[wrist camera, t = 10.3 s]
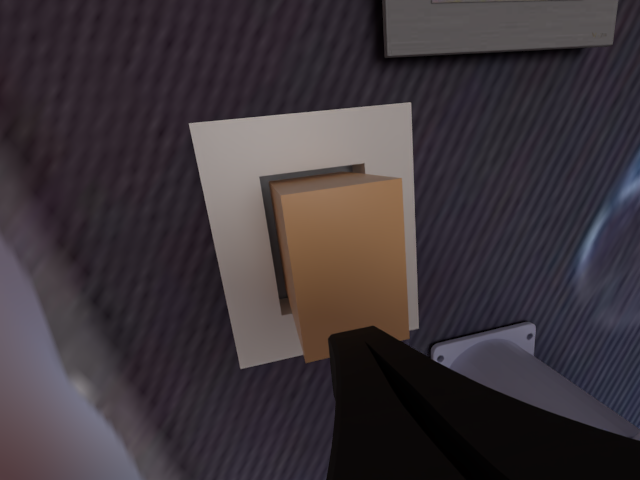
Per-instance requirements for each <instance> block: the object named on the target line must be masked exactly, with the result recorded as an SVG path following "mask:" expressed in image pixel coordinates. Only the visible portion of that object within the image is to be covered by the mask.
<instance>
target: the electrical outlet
mask: <svg viewBox="0 0 640 480" xmlns="http://www.w3.org/2000/svg"><path fill="white" fill-rule="evenodd" d="M617 5H618V0H382V6H383V30H384V54H385V58H395V57H414V56H434V55H453V54H473V53H492V52H511V51H531V50H550V49H570V48H589V47H607V46H610V45H612V44H613V37H614V29H615V21H616V13H617Z"/></svg>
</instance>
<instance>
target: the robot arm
mask: <svg viewBox="0 0 640 480" xmlns="http://www.w3.org/2000/svg"><path fill="white" fill-rule="evenodd" d="M535 331H536V327H535V325H534V324H532V323H531V322H523V323H519V324H515V325H511V326H507V327H503V328H498V329H494V330H490V331H486V332H482V333H478V334H473V335H469V336H465V337H461V338H457V339H453V340H448V341H444V342H440V343H437V344H435V345H433V346H432V348H431V358H429V357H427V356H425V355H424V354H422V353H420V352H418V351H416V350H415V349H413V348H411V347H410V346H408V345H406V344H404V343H403V342H401V341H399V340H398V339H396V338H394V337H393V336H391V335H389V334H388V333H386V332H384V331H382V330H381V329H379V328H377V327H375V326H369V327H364V328H359V329H354V330H349V331H344V332H340V333H335V334H331V335H330V337H329V338H328V346H329V355H330V364H331V374H332V383H333V393H334V397H335V401H336V406H335V422H334V432H333V440H332V448H331V455H330V462H329V467H328V473H327V479H326V480H640V429H638V428H637V427H636V426H634V425H633V424H631V423H630V422H628V421H627V420H625V419H624V418H623V417H621V416H620V415H618V414H617V413H615V412H614V411H612V410H611V409H610V408H608V407H607V406H605V405H604V404H602V403H601V402H599V401H598V400H597V399H595V398H594V397H592V396H591V395H589V394H588V393H586V392H585V391H584V390H582V389H581V388H579V387H578V386H576V385H575V384H573V383H572V382H570V381H569V380H568V379H566V378H565V377H563V376H562V375H560V374H559V373H557V372H556V371H555V370H553V369H552V368H550V367H549V366H547V365H546V364H544V363H543V362H542V361H540V360H539V359H537V358H536V357H534V344H535ZM440 355H441V356H440ZM439 356H440V357H439ZM438 357H439V358H438ZM437 358H438V359H437Z"/></svg>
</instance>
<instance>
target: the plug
mask: <svg viewBox="0 0 640 480" xmlns="http://www.w3.org/2000/svg"><path fill="white" fill-rule="evenodd" d="M269 188H270V194H271V200H272V206H273V213H274V219H275V225H276V232H277V238H278V244H279V251H280V257H281V263H282V270H283V276H284V282H285V288H286V292H287V296H288V299H289V303H290V307H291V310H292V314H293V318H294V322H295V325H296V329H297V333H298V336H299V340H300V344H301V347H302V351H303V355H304V359H305V362H306V363H309V362H313V361H317V360H321V359H326V358H330V355H329V346H328V338H329V337H330V335H331V334H335V333H340V332H344V331H349V330H354V329H359V328H364V327H369V326H375V327H377V328H379V329H381V330H382V331H384V332H386V333H388V334H389V335H391V336H393V337H394V338H396V339H398V340H399V341H402V340H406V339H410V337H409V316H408V295H407V274H406V253H405V232H404V211H403V190H402V178H396V177H388V176H379V175H370V174H362V173H353V172H344V171H342V172H334V173H327V174H319V175H312V176H304V177H297V178H289V179H282V180H274V181H269Z"/></svg>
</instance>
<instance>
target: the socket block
mask: <svg viewBox="0 0 640 480" xmlns="http://www.w3.org/2000/svg"><path fill="white" fill-rule="evenodd" d="M189 127H190V131H191V136H192V141H193V146H194V150H195V155H196V160H197V165H198V169H199V174H200V179H201V184H202V188H203V193H204V198H205V202H206V207H207V212H208V217H209V221H210V226H211V231H212V236H213V240H214V245H215V250H216V255H217V259H218V264H219V269H220V274H221V278H222V283H223V288H224V293H225V297H226V302H227V307H228V312H229V316H230V321H231V326H232V330H233V335H234V340H235V345H236V349H237V354H238V359H239V364H240V368H241V369H243V368H248V367H252V366H256V365H261V364H265V363H269V362H274V361H278V360H283V359H287V358H291V357H296V356H300V355H303V351H302V347H301V344H300V340H299V336H298V333H297V329H296V325H295V322H294V318H293V314H292V310H291V307H290V303H289V299H288V296H287V292H286V288H285V282H284V276H283V270H282V263H281V257H280V251H279V244H278V238H277V232H276V225H275V219H274V213H273V206H272V200H271V194H270V188H269V181H274V180H282V179H289V178H297V177H304V176H312V175H319V174H327V173H334V172H342V171H344V172H353V173H362V174H370V175H379V176H388V177H396V178H402V190H403V211H404V232H405V253H406V274H407V295H408V316H409V331H410V330H414V329H418V328H419V319H418V290H417V261H416V232H415V203H414V174H413V145H412V116H411V102H409V103H399V104H388V105H378V106H367V107H357V108H346V109H336V110H325V111H314V112H304V113H293V114H283V115H272V116H262V117H251V118H241V119H230V120H220V121H209V122H198V123H189Z"/></svg>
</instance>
